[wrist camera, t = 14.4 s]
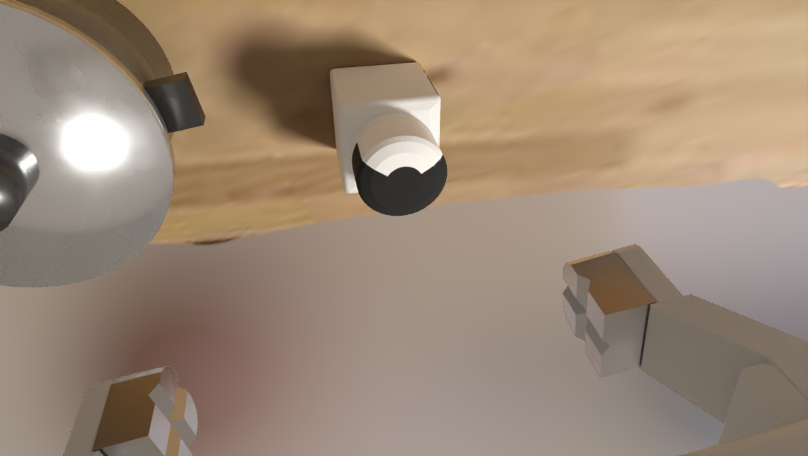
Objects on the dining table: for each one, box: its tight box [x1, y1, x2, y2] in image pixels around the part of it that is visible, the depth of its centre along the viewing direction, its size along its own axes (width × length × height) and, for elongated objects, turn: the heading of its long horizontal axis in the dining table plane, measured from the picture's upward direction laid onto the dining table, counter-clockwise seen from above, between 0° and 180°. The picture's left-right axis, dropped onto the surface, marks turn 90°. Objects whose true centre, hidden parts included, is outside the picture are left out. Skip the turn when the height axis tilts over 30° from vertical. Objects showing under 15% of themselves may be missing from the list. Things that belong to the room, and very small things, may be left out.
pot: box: [16, 0, 205, 139], centre depth 36 cm, size 17×22×10 cm
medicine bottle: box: [330, 62, 447, 216], centre depth 41 cm, size 7×7×12 cm
